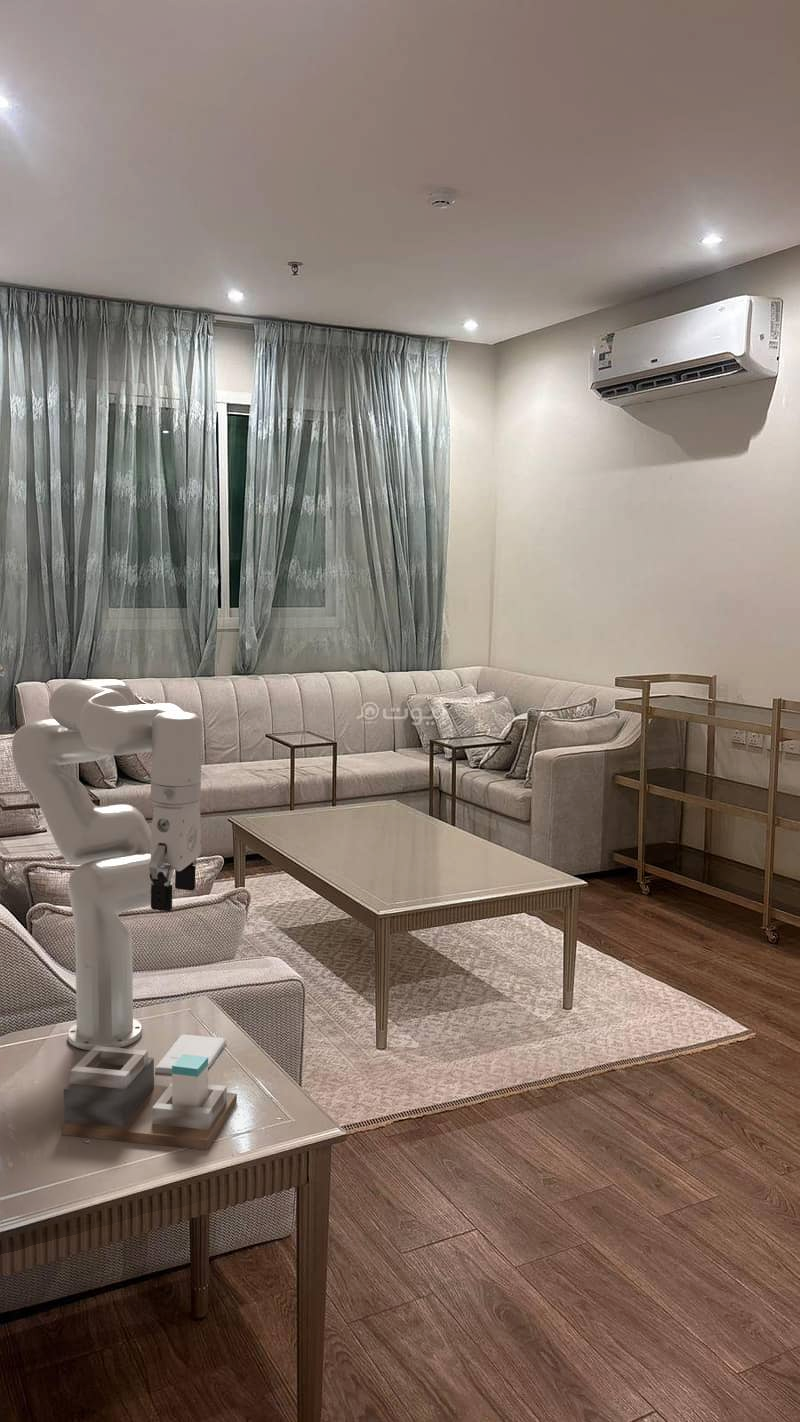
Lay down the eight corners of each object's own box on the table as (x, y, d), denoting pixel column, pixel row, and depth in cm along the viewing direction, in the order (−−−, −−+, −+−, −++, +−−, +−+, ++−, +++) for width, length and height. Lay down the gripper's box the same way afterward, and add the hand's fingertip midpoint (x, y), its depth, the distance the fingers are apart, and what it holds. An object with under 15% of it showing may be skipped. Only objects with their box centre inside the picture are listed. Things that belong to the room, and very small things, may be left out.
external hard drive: (226, 1046, 188) (203, 1080, 176) (180, 1042, 189) (154, 1075, 177) (226, 1037, 188) (203, 1070, 176) (180, 1033, 189) (154, 1066, 177)
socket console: (61, 1134, 157) (60, 1079, 156) (101, 1089, 171) (101, 1038, 170) (207, 1150, 154) (207, 1093, 153) (236, 1102, 167) (236, 1050, 166)
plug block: (172, 1117, 160) (172, 1065, 159) (183, 1104, 164) (183, 1054, 162) (197, 1120, 159) (197, 1069, 158) (208, 1107, 163) (208, 1057, 162)
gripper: (178, 808, 157) (175, 921, 160) (218, 782, 174) (215, 884, 177) (129, 803, 158) (127, 915, 161) (173, 778, 175) (171, 879, 178)
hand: (173, 899), depth 169 cm, fingers open, 9 cm apart
